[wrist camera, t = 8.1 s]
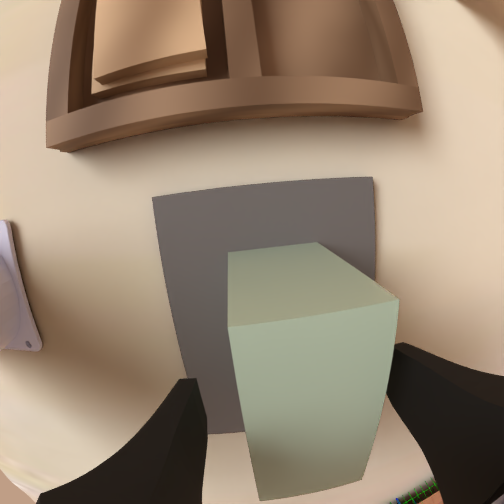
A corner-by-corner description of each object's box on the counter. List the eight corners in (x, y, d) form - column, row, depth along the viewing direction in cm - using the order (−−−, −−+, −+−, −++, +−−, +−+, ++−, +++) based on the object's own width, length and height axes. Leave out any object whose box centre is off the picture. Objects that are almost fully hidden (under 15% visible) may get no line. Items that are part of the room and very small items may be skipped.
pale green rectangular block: (247, 394, 15) (259, 501, 8) (227, 252, 13) (227, 326, 6) (318, 383, 15) (361, 479, 8) (317, 242, 13) (399, 298, 6)
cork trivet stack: (99, 98, 10) (82, 88, 9) (112, -29, 8) (102, -46, 7) (209, 76, 11) (207, 59, 9) (202, -49, 9) (200, -68, 7)
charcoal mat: (204, 429, 16) (204, 434, 15) (154, 196, 12) (152, 197, 12) (359, 404, 16) (361, 409, 16) (367, 176, 13) (372, 176, 12)
